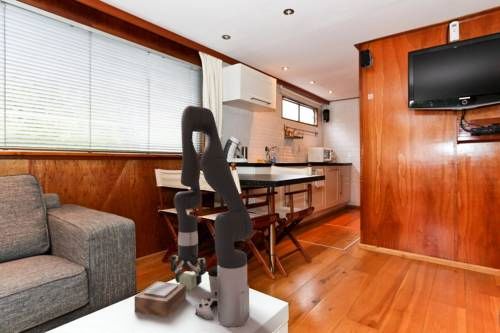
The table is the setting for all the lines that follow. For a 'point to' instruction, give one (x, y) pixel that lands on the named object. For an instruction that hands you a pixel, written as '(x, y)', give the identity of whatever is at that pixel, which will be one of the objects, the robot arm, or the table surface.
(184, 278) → the sage cube
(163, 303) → the walnut plinth
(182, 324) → the table surface
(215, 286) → the coffee cup
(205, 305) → the game controller
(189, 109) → the robot arm
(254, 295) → the table surface
